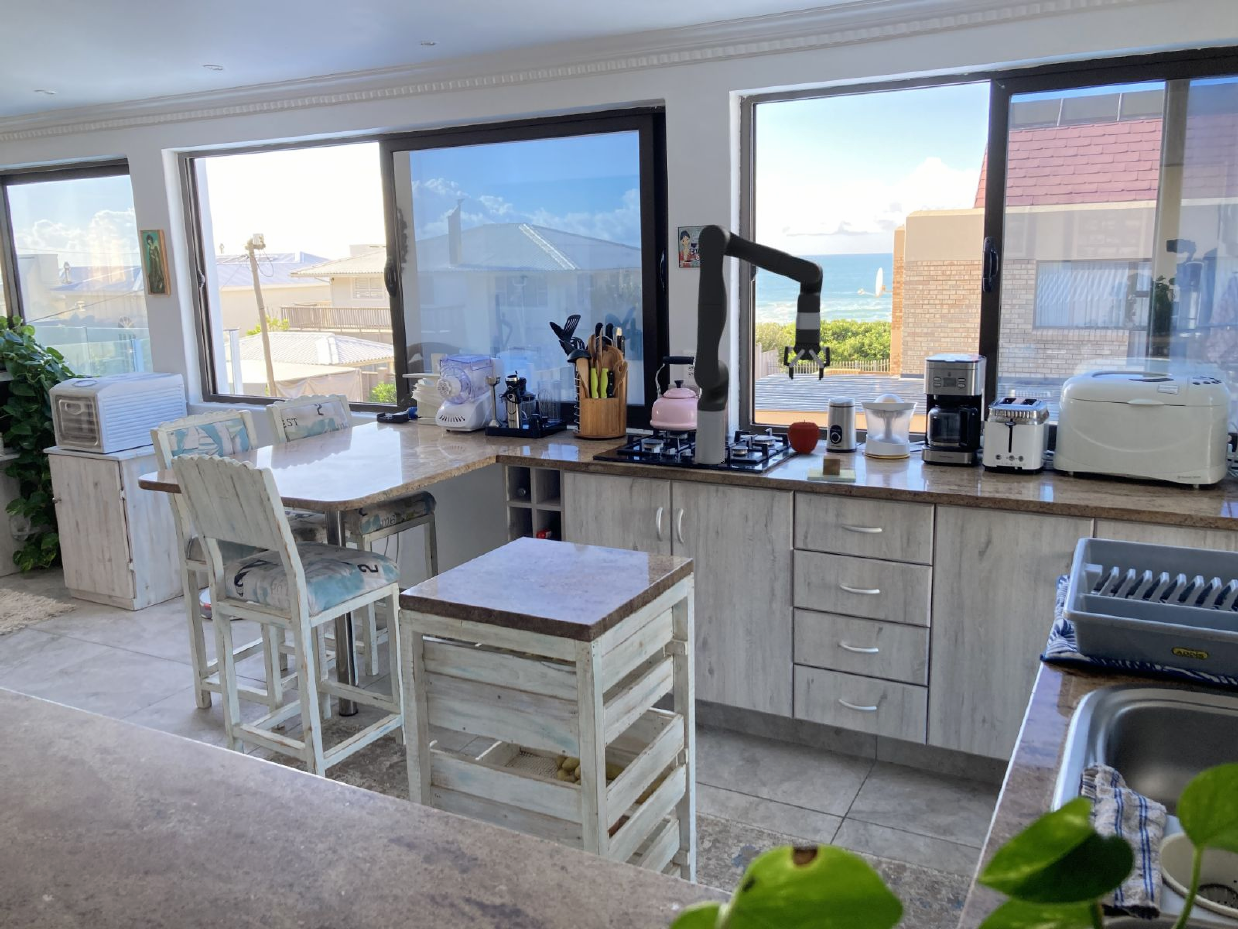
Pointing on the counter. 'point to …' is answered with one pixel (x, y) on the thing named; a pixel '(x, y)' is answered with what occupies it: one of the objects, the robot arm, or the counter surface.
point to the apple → (803, 436)
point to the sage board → (818, 475)
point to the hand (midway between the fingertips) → (806, 379)
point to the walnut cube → (831, 465)
